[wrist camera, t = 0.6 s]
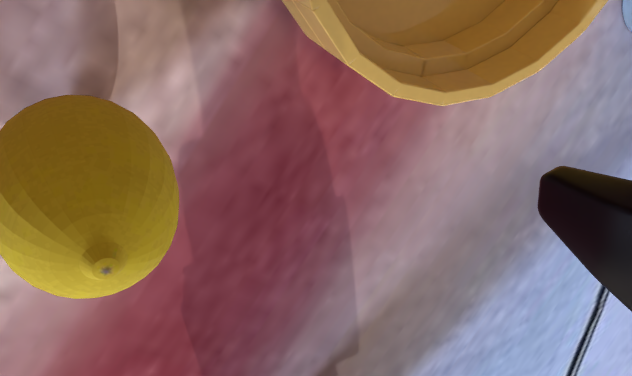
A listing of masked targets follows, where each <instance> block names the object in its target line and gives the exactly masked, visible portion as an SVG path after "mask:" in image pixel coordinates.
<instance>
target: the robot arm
mask: <svg viewBox="0 0 632 376" xmlns="http://www.w3.org/2000/svg"><path fill="white" fill-rule="evenodd" d="M538 211H539V214H540V216H541V217H542V219H543V220H544V221H545V222H546V224H547V225H548V226H549V227H550V228H551V229H552V230H553V231H554V232H555V234H556V235H557V236H558V237H559V238H560V239H561V240H562V241H563V243H564V244H565V245H566V246H567V247H568V248H569V249H570V250H571V252H572V253H573V254H574V255H575V256H576V257H577V258H578V259H579V260H580V262H581V263H582V264H583V265H584V266H585V267H586V268H587V269H588V270H589V272H590V273H591V274H592V275H593V276H594V277H595V278H596V279H597V280H598V281H599V282H600V283H601V284H602V285H603V286H604V287H605V288H607V289H608V290H609V291H610V292H611V293H612V294H613V295H614V296H615V297H616V298H617V299H619V300H620V301H621V302H622V303H623V304H624V305H625V306H626V307H627V308H628V309H630V310H631V311H632V181H631V180H626V179H622V178H617V177H613V176H608V175H603V174H599V173H594V172H590V171H585V170H581V169H576V168H571V167H566V166H559V167H556V168H555V169H553V170H551V171H549V172H547V173H546V174H544V175H543V176H542V177H541V180H540V187H539V197H538Z"/></svg>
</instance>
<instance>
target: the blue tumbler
mask: <svg viewBox="0 0 632 376" xmlns="http://www.w3.org/2000/svg"><path fill="white" fill-rule="evenodd" d="M622 10H623V17H624V21H625V24H626V26H627V27H628V29H629V30H630V31H631V32H632V0H623V4H622Z"/></svg>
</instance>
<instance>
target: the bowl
mask: <svg viewBox="0 0 632 376" xmlns="http://www.w3.org/2000/svg"><path fill="white" fill-rule="evenodd" d="M282 1H283V3H284V4H285V6H286V7H287V9H288V10H289V12H290V13H291V14H292V16H293V17H294V19H295V20H296V22H297V23H298V25H299V26H300V27H301V29H302V30H303V32H304V33H305V35H306V36H308V38H310V39H311V40H312V41H314V42H315V43H317V44H318V45H319V46H321V47H322V48H324V49H325V50H326V51H328V52H329V53H331V54H332V55H333V56H335V57H336V58H338V59H339V60H340V61H342V62H343V63H345V64H346V65H347V66H349V67H350V68H352V69H353V70H355V71H356V72H357V73H359V74H360V75H362V76H363V77H365V78H366V79H368V80H369V81H370V82H372V83H373V84H375V85H376V86H378V87H379V88H381V89H382V90H384V91H385V92H386V93H388V94H389V95H391V96H393V97H397V98H402V99H407V100H413V101H418V102H423V103H428V104H433V105H439V106H446V105H451V104H456V103H462V102H467V101H472V100H478V99H483V98H488V97H491V96H494V95H496V94H498V93H500V92H502V91H503V90H505V89H507V88H509V87H511V86H513V85H515V84H517V83H519V82H520V81H522V80H524V79H526V78H528V77H530V76H532V75H534V74H536V73H538V72H539V71H541V70H542V69H543V68H544V67H545V66H546V65H547V64H548V63H550V62H551V61H552V60H553V59H554V58H555V57H556V56H558V55H559V54H560V53H561V52H562V51H563V50H564V49H565V48H567V47H568V46H569V45H570V44H571V43H572V42H573V41H575V40H576V39H577V38H578V37H579V36H580V35H581V34H582V33H583V31H585V30H586V29H587V27H588V26H589V25H590V23H591V22H592V21H593V20H594V18H595V17H596V16H597V14H598V13H599V12H600V10H601V9H602V8H603V6H604V5H605V4H606V2H607V1H608V0H282Z"/></svg>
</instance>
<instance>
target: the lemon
mask: <svg viewBox="0 0 632 376" xmlns="http://www.w3.org/2000/svg"><path fill="white" fill-rule="evenodd" d="M178 210H179V191H178V185H177V181H176V177H175V173H174V170H173V166H172V162H171V160H170V157H169V155H168V154H167V152H166V150H165V149H164V147H163V146H162V144H161V142H160V141H159V139H158V137H157V136H156V134H155V133H154V132H153V131H152V130H151V129H150V128H149V127H148V126H147V125H146V124H145V123H144V122H143V121H142V120H141V119H139V118H138V117H137V116H136V115H135V114H134V113H132V112H130V111H128V110H127V109H125V108H123V107H121V106H119V105H117V104H115V103H113V102H111V101H108V100H104V99H100V98H97V97H93V96H84V95H63V96H58V97H53V98H48V99H44V100H42V101H40V102H38V103H35V104H33V105H31V106H29V107H26V108H25V109H23V110H22V111H20V112H19V113H18V114H17V115H15V116H14V117H13V118H11V119H10V120H9V121H7V122H6V124H5V125H4V126H3V128H2V129H1V130H0V255H1V256H2V257H3V259H4V260H5V261H6V263H7V264H8V265H9V267H10V268H11V269H12V270H13V271H14V272H15V273H16V274H18V275H19V276H20V277H21V278H23V279H24V280H25V281H27V282H28V283H30V284H31V285H32V286H34V287H36V288H39V289H41V290H44V291H46V292H48V293H51V294H53V295H56V296H62V297H68V298H74V299H78V298H97V297H102V296H107V295H111V294H114V293H117V292H119V291H122V290H124V289H126V288H129V287H130V286H132V285H134V284H135V283H137V282H138V281H140V280H141V279H143V278H144V277H146V276H147V275H148V274H149V273H150V272H151V271H152V270H153V269H154V268H155V267H156V266H157V265H158V264H159V263H160V261H161V260H162V258H163V256H164V255H165V253H166V252H167V250H168V249H169V247H170V245H171V243H172V240H173V237H174V234H175V231H176V228H177V224H178Z"/></svg>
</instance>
